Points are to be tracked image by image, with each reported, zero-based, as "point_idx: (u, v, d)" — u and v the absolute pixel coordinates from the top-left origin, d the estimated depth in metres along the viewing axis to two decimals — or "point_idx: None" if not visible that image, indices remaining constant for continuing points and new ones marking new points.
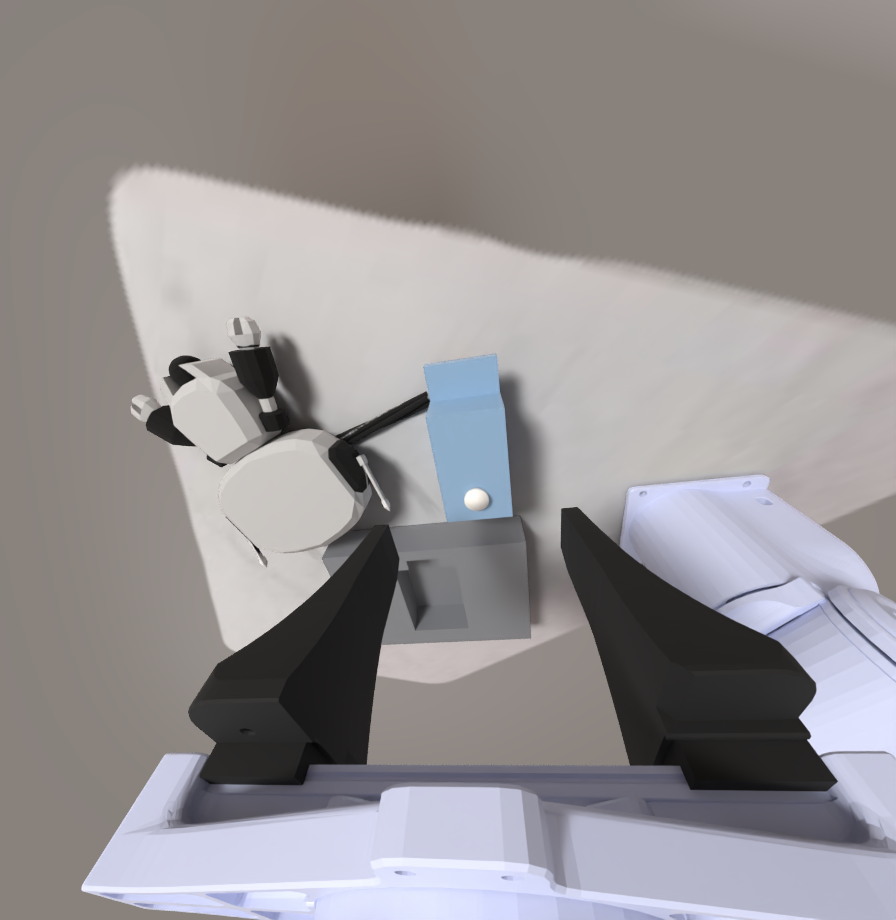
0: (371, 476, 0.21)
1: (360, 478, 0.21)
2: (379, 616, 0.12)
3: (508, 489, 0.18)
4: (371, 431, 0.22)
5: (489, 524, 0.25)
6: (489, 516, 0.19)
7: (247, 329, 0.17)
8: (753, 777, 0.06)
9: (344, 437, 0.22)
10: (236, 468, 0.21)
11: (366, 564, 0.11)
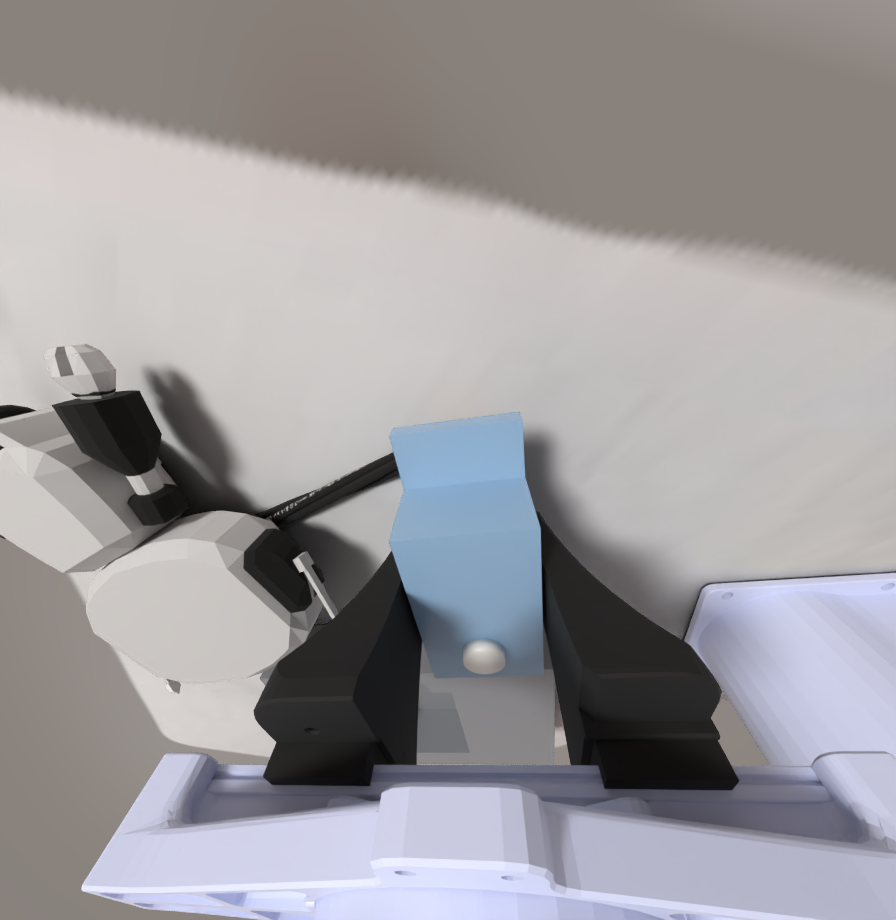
0: (318, 587, 0.13)
1: (300, 593, 0.13)
2: None
3: (539, 643, 0.10)
4: (318, 506, 0.14)
5: None
6: (504, 674, 0.11)
7: (80, 366, 0.10)
8: (661, 776, 0.06)
9: (279, 514, 0.15)
10: (102, 577, 0.13)
11: None
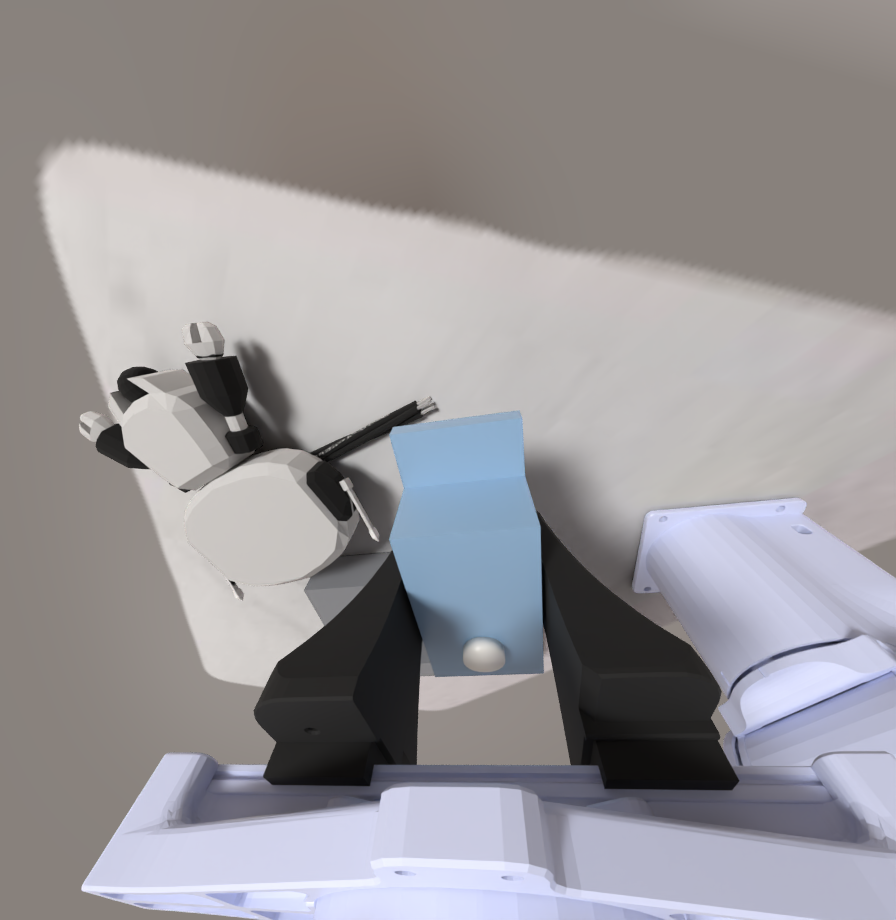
0: (357, 502, 0.18)
1: (344, 505, 0.18)
2: None
3: (539, 641, 0.10)
4: (354, 446, 0.19)
5: None
6: (504, 672, 0.11)
7: (206, 336, 0.15)
8: (661, 777, 0.06)
9: (323, 453, 0.20)
10: (201, 495, 0.18)
11: None
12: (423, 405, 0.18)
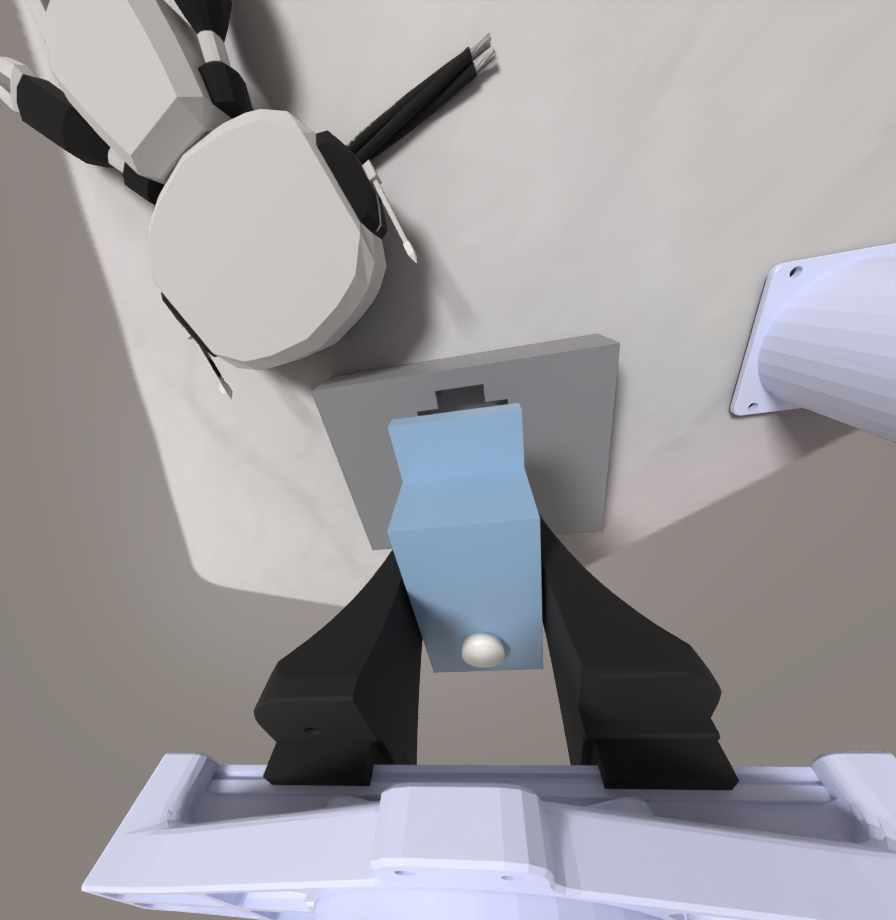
0: (387, 201, 0.13)
1: (370, 199, 0.13)
2: None
3: (538, 636, 0.10)
4: (377, 140, 0.14)
5: (554, 343, 0.17)
6: (504, 668, 0.11)
7: None
8: (661, 776, 0.06)
9: None
10: (168, 183, 0.13)
11: None
12: (479, 44, 0.12)
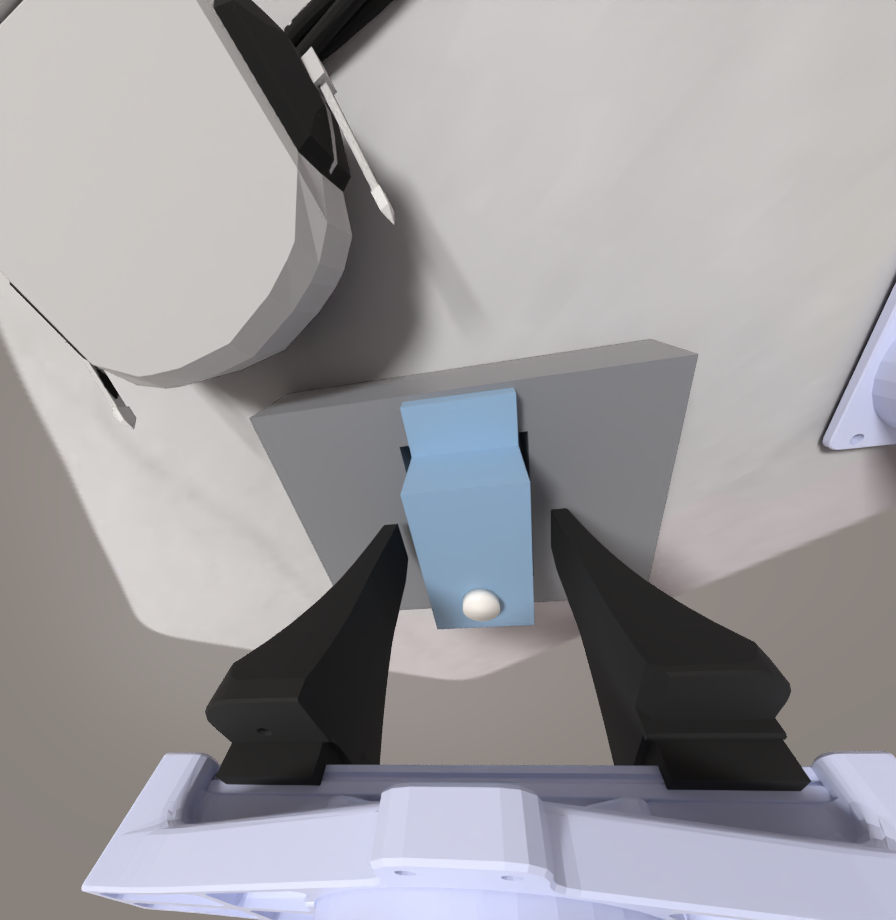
0: (344, 120, 0.08)
1: (314, 115, 0.08)
2: (390, 615, 0.11)
3: (530, 592, 0.12)
4: (327, 23, 0.09)
5: (592, 352, 0.12)
6: (499, 624, 0.13)
7: None
8: (728, 776, 0.06)
9: None
10: None
11: (377, 563, 0.11)
12: None
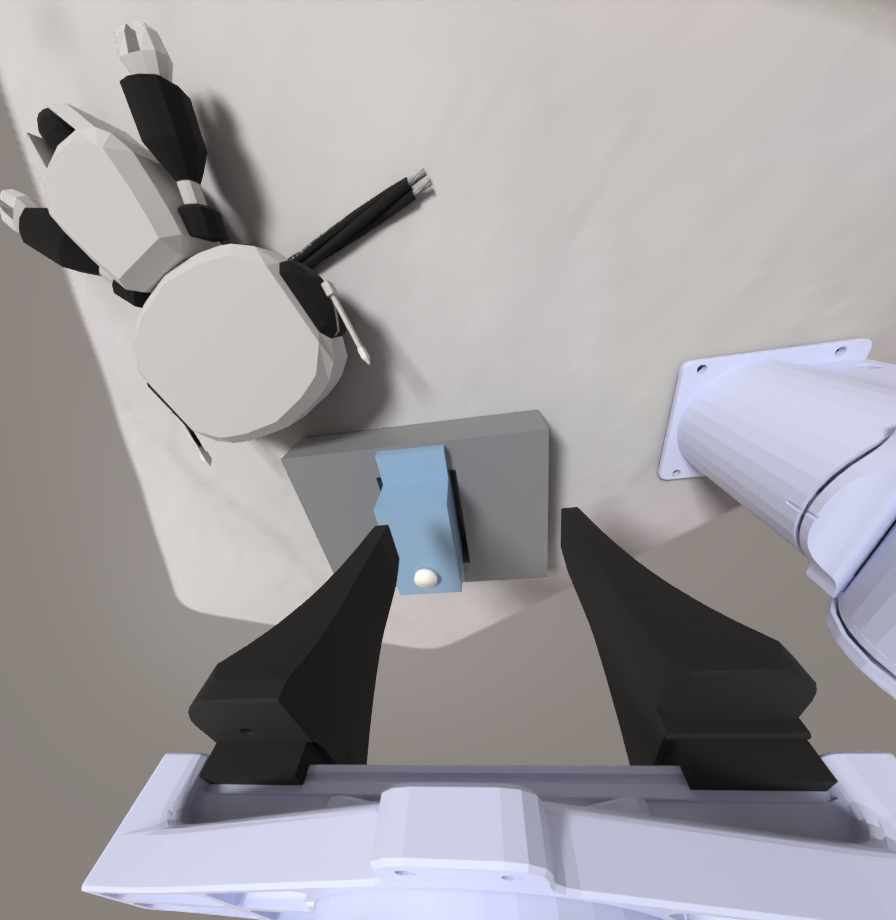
0: (343, 313, 0.15)
1: (327, 313, 0.15)
2: (379, 616, 0.12)
3: (455, 569, 0.19)
4: (330, 246, 0.16)
5: (499, 418, 0.20)
6: (439, 591, 0.20)
7: (146, 41, 0.12)
8: (754, 777, 0.06)
9: (294, 258, 0.16)
10: (151, 297, 0.15)
11: (366, 564, 0.11)
12: (415, 176, 0.14)
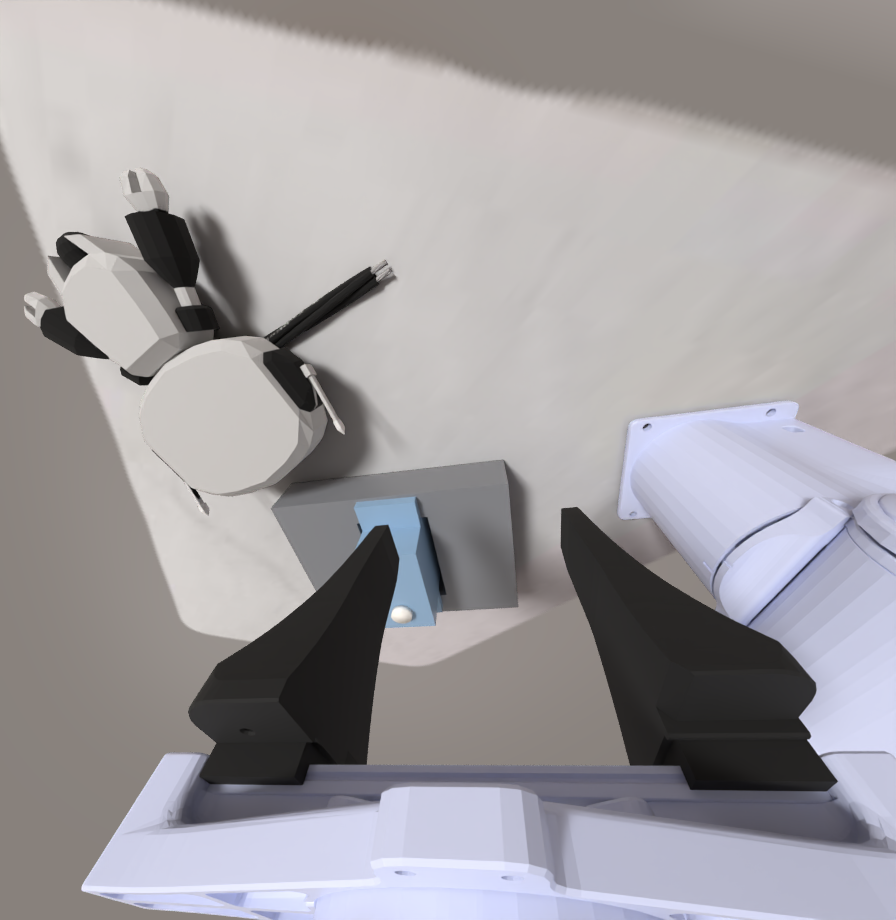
0: (320, 391, 0.17)
1: (306, 392, 0.17)
2: (379, 616, 0.12)
3: (428, 607, 0.21)
4: (306, 324, 0.18)
5: (467, 469, 0.22)
6: (415, 625, 0.22)
7: (146, 184, 0.14)
8: (753, 777, 0.06)
9: (274, 334, 0.18)
10: (154, 382, 0.17)
11: (366, 564, 0.11)
12: (377, 267, 0.16)
